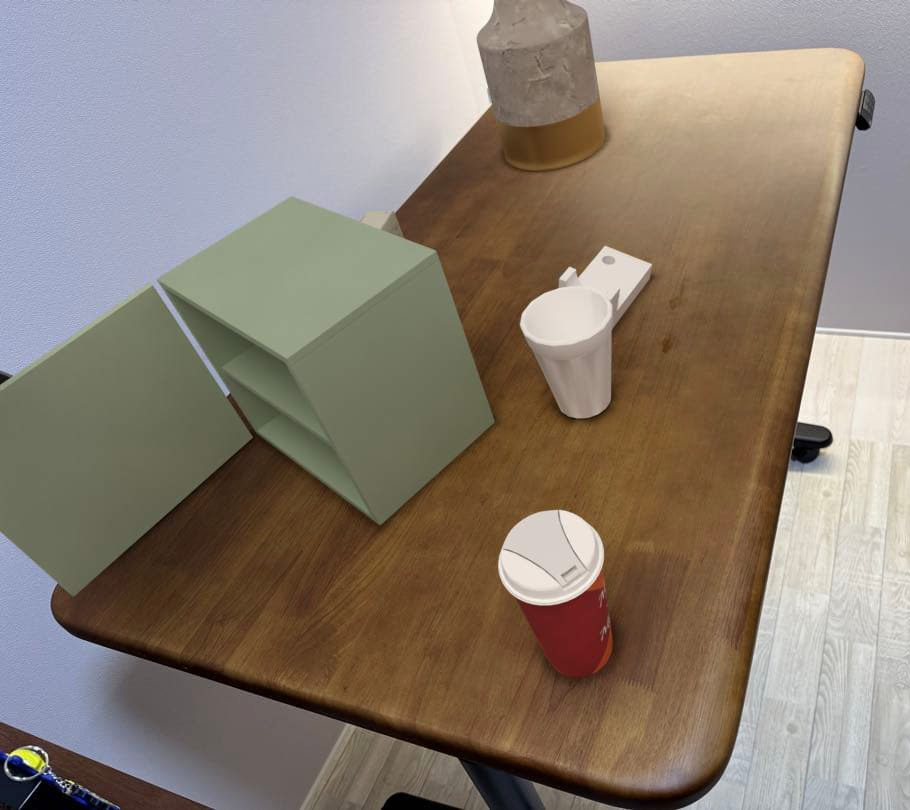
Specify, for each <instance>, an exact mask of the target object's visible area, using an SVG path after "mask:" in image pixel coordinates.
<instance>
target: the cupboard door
mask: <svg viewBox="0 0 910 810" xmlns="http://www.w3.org/2000/svg"><path fill="white" fill-rule="evenodd" d="M252 439H254V436H253V435H252V434H251V432H250V430H249V428H248V427H247V426H246V424H245V423H244V421H243V420H242V418H241V417H240V415H239V414H238V412H237V411H236V409H235V408H234V406H233V404H232V403H231V401H230V400H229V398H228V397H227V396H226V394H225V392H224V391H223V389H222V388H221V386H220V385H219V383H218V382H217V381H216V378H215V377H214V376H213V374H212V373H211V371H210V370H209V368H208V367H207V365H206V363H205V362H204V360H203V359H202V358H201V356H200V355H199V353H198V352H197V350H196V348H195V346H194V345H193V344H192V342H191V341H190V339H189V338H188V337H187V334H186V333H185V332H184V330H183V328H182V327H181V326H180V324H179V323H178V321H177V320H176V318H175V317H174V315H173V313H172V311H171V310H170V309H169V307H168V306H167V304H166V303H165V302H164V300H163V298H162V297H161V295H160V294H159V292H158V291H157V289H156V288H155V286H154V285H153V284H151V283H146V284H144V285H143V286H142V287H140V288H138V289H137V290H136V291H134V292H133V293H131V294H130V295H129V296H127V297H126V298H124V299H123V300H121V301H119V302H118V303H117V304H116V305H113V306H112V307H111V308H109V309H108V310H107V311H105V312H103V313H102V314H101V315H99V316H98V317H97V318H95V319H93V320H92V321H90V322H89V323H88V324H86V325H85V326H83V327H82V328H80V329H79V330H78V331H76V332H75V333H73V334H72V335H70V336H69V337H68V338H66V339H64V340H63V341H61V342H60V343H58V344H57V345H56V346H55V347H53V348H52V349H50V350H48V352H46V353H44V354H43V355H41V356H40V357H39V358H37V359H36V360H34V361H33V362H31V363H30V364H28V365H27V366H26V367H24V368H22V369H21V370H20V371H19V372H17V373H15V374H14V375H13V377H11V378H10V379H8V380H7V381H5V382H4V383H2V384H1V385H0V533H1V534H2V535H3V536H4V537H6V538H7V539H8V541H10V542H11V543H12V544H13V545H14V546H16V548H17V549H19V550H20V551H21V552H22V553H23V554H24V555H26V556H27V557H28V558H29V559H30V560H31V561H32V562H33V563H34V564H36V565H37V566H38V567H39V568H40V569H41V570H42V571H44V572H45V574H47V575H48V576H49V577H50V578H51V579H52V580H54V581H55V583H57V584H58V585H59V586H60V587H61V588H63V589H64V590H65V591H66V592H67V593H68V594H69V595H70V596H72V597H74V598H75V597H76V596H77V595H78V593H80V592H82V590H83V589H84V588H86V587H87V586H88V585H89V584H90V583H91V582H92V581H94V579H95V578H97V577H98V576H99V575H100V574H101V573H102V572H104V571H105V570H106V569H107V568H108V567H109V566H110V565H112V563H114V562H115V561H116V560H117V559H118V558H119V557H121V555H123V554H124V553H125V552H126V551H127V550H129V548H131V547H132V546H133V545H134V544H135V543H136V542H137V541H138V540H140V539H141V538H142V537H143V536H144V535H145V534H146V533H147V532H149V531H150V530H151V529H152V528H153V527H154V526H155V525H156V524H157V523H159V522H160V521H162V519H163V518H164V517H165V516H166V515H168V514H169V513H170V512H172V511H173V509H174V508H175V507H177V506H178V505H179V504H180V503H181V502H182V501H183V500H185V499H186V498H187V497H188V496H190V494H191V493H192V492H193V491H195V490H196V489H197V488H198V487H199V486H201V484H202V483H204V482H205V481H206V480H207V479H208V478H209V477H211V476H212V475H213V474H214V473H215V472H216V471H217V470H218V469H219V468H221V467H222V466H223V465H224V464H225V463H226V462H227V461H229V460H230V459H231V458H232V457H234V455H236V454H237V452H239V451H240V450H241V449H242V448H243V447H244V446H246V445H247V443H249V442H250V441H251V440H252Z"/></svg>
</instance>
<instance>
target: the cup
mask: <svg viewBox="0 0 910 810" xmlns="http://www.w3.org/2000/svg"><path fill="white" fill-rule="evenodd" d="M612 324H613V307H612V303H611V302H610V300H609V299H608V297H607V296H606V295H605V294H603V293H601V292H599V291H597V290H595V289H593V288H588V287H581V286H572V287H562V288H559V287H558V288H555V289H552V290H549V291H547V292H544V293H542V294H541V295H539V296H538V297H536V298H534V299H533V300H532V301H531V302H529V304H528V305H527V307H526V308H525V309H524V310H523V311H522V313H521V316H520V321H519V327H520V329H521V331H522V334H523V336H524V339H525V341H526V343H527V345H528V347H529V348H530V349H531V350H532V353H533V355H534V357H535V359H536V362H537V364H538V365H539V367H540V370H541V372H542V374H543V376H544V378H545V381H546V383H547V385H548V386H549V388H550V391H551V393H552V395H553V397H554V400H555V402H556V403H557V406H558V408H559V410H560V412H561V413H563V414H564V415H566V416H567V417H568V418H574V419H589V418H592V417H595V416H597V415H599V414H601V413H602V412H603V411H605V410H606V409H607V408H608V406H609V405H610V403H611V400H612V334H613V333H612V331H613V329H612Z"/></svg>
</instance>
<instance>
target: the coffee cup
mask: <svg viewBox="0 0 910 810" xmlns="http://www.w3.org/2000/svg"><path fill="white" fill-rule="evenodd" d="M604 561H605V550H604V544H603V541H602V539H601V537H600V535H599V533H598V531H597V530H596V529H595V528H594V527H593V526H592V525H590V524H589V523H588V522H587V521H586V520H585V519H583V518H582V517H580V516H579V515H577V514H575V513H573V512H570V511H568V510H563V509H553V510H552V509H551V510H543V511H539V512H535V513H532V514H530V515H528V516H526V517H524V518H522V520H520V521H519V522H517V523H516V524H515V525H514V526H513V527H512V528H511V530H510V531H509V532H508V533H507V535H506V538H505V539H504V542H503V544H502V547H501V549H500V552H499V556H498V562H497V565H498V567H497V568H498V569H497V570H498V575H499V578H500V580H501V583H502V584H503V587H505V589H506V590H507V592H509V593H510V594H511V595H512V596H513V597H514V599H515V601H516V602H517V604H518V606H519V608H520V611H522V613H523V616H524V618H525V620H526V621H527V623H528V625H529V628H530V629H531V631H532V633H533V635H534V636H535V638H536V640H537V642H538V644H539V646H540V648H541V649H542V652H543V653H544V655H545V657H546V658H547V660H548V662H549V663H550V665H551V666H552V667H553V668H554V669H555V670H556V671H557V672H558V673H559V674H561V675H562V676H563V675H564V676H566V677H568V678H569V677H570V678H585V677H588V676H589V677H590V676H591V675H593V674H595V673H597V672H599V671H600V670H601V669H603V667H604V666H605V665H606V664H607V663H608V661H609V659H610V657H611V654H612V653H613V632H612V624H611V623H612V622H611V616H610V610H609V603H608V598H607V596H608V595H607V590H606V583H605V575H604V571H603V570H604V569H603V565H604Z"/></svg>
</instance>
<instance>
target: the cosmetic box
mask: <svg viewBox="0 0 910 810" xmlns="http://www.w3.org/2000/svg"><path fill="white" fill-rule="evenodd" d="M359 222H362V223H364V224H367V225H370V226H372V227H375V228H378V229H380V230H383V231H386V232H388V233H391V234H394V235H396V236H399V237H401V238H404V239H405V236H404V234H403V232H402V231H403V230H402V228H401V226H400V223H399V221H398V218H397V216H396V213H395V210H394V209H381V210H378V209H377V210H367V211H366V213H364V215H363V217H362V218H361V219H360V220H359Z"/></svg>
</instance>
